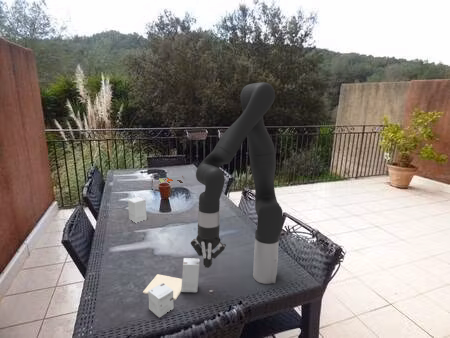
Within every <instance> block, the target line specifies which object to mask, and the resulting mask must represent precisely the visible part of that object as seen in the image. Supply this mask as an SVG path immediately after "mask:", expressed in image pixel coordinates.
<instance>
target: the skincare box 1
mask: <svg viewBox="0 0 450 338" xmlns="http://www.w3.org/2000/svg"><path fill="white" fill-rule="evenodd" d="M147 295H148V310H150V311H151V313H153V314H154V315H155V316H157V317H158V318H162V317H163V316H165V315H166V314H167V312H168V313H169V312H171V311H173V310H174V300H173V290H172V289H171V288H169V287H168V286H167V285H165V284H164V283H162V284H160V285H158V286H156V287H154V288H153V289H151V290H149V291H148V294H147ZM170 310H171V311H170Z"/></svg>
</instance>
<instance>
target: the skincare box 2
mask: <svg viewBox="0 0 450 338" xmlns="http://www.w3.org/2000/svg"><path fill="white" fill-rule="evenodd" d="M182 261H183V262H182V276H181V279H182V288H181V293H198V286H199V277H200V258H193V257H191V258H190V257H183V260H182Z"/></svg>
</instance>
